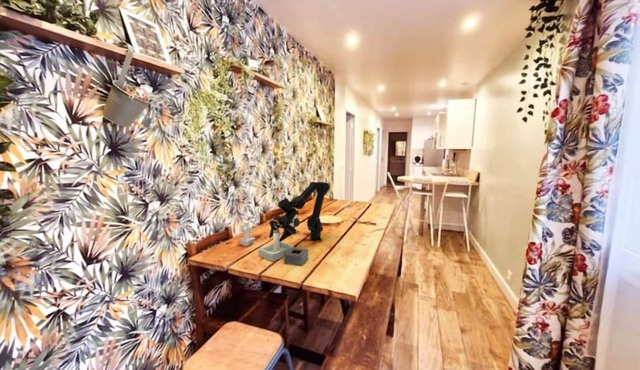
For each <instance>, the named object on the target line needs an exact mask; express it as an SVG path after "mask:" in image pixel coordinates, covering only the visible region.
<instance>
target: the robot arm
mask: <svg viewBox="0 0 640 370" xmlns="http://www.w3.org/2000/svg"><path fill="white" fill-rule="evenodd" d="M329 190H330V185H329V183H328V182H326V181H325V182H324V181H318V182H317V181H311V182H310V183H309V184H308V186H307V187H306V188H305V189H304V190H303V191H302V192H301V193H300V194H299V195H298V196H295V197H294V198H292V199H291V200H289V199H288V198H287V197H283V198H284V199H281V200H279V201H278V204H277V207H278V208H279V209H280V210H281V211H282V212H283V214H284V215H283V214H282V215H277V214H274V216H273V219H271V220H270V221H269V222H268V224H269V226H270V232H269V236H268V238H269V239H272V238H273V230H279V229H282V230H283V231H282V235H280V240H279V242H283V241H284V240H286V239H288V238H289V237H291V236H293V235H294V236H295V235H296V233H297V229H296V227H295V228H294V227H293V226H291V225H290V224H291V223H293V221H292V220H293V219H294V217H296V216H300V211H299V210H302V209H303V208H304V207H305V205H306V202H307V200H308V199H309V197H310V196H311V195H312V194H313V193H314V192H316V198H315V200H314V201H315V202H314V205H313V209H312V210H313V211H312V213H311V216H308V217H307V221H306V226H307V229H308V231H310V232H309V237H308V239H309V240H310V241H312V242H319V241H322V240H323V239H322V237H321V235H322V234H321V233H322V232H323V231H324V228H323V226H322V225H321V223H322V222H321V218H320V215H321V212H322V207H323V203H324V199H325V196H326V195H327V194H328V192H329Z"/></svg>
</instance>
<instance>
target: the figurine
mask: <svg viewBox="0 0 640 370" xmlns="http://www.w3.org/2000/svg"><path fill="white" fill-rule="evenodd" d="M239 227H240V233H241V234H242V233H244V235H243V236H244V237H242V238H239V239H238V241H239V243H240V244H241V246H245V247H249V246H250V245H252V244H253V242H254V241H255V239H256V238H255V237H252V236H250V234H253V226H252V225H251V224H250V222H249V221H247V220H244V221H243V223H240V226H239Z"/></svg>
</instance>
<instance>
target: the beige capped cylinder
mask: <svg viewBox="0 0 640 370" xmlns="http://www.w3.org/2000/svg"><path fill="white" fill-rule="evenodd" d="M280 238H281V234H280V230H279V229H278V230H273V236H272V239H273V240H272V241H273V242H272V244H273V253H275V252H278V251H280V242H279V240H280Z"/></svg>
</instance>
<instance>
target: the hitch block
mask: <svg viewBox="0 0 640 370" xmlns="http://www.w3.org/2000/svg"><path fill="white" fill-rule="evenodd" d="M308 259H309V249H306V248H300V247H299V248H297V247H294V248H292V247H291V248H290V249H289V250H288V251H287V252H286V253H285V254H284V257H283V263H284V264H285V265H286V264H287V265H294V266H300V267H301V266H303V265H304V263H306V262H307V260H308Z"/></svg>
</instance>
